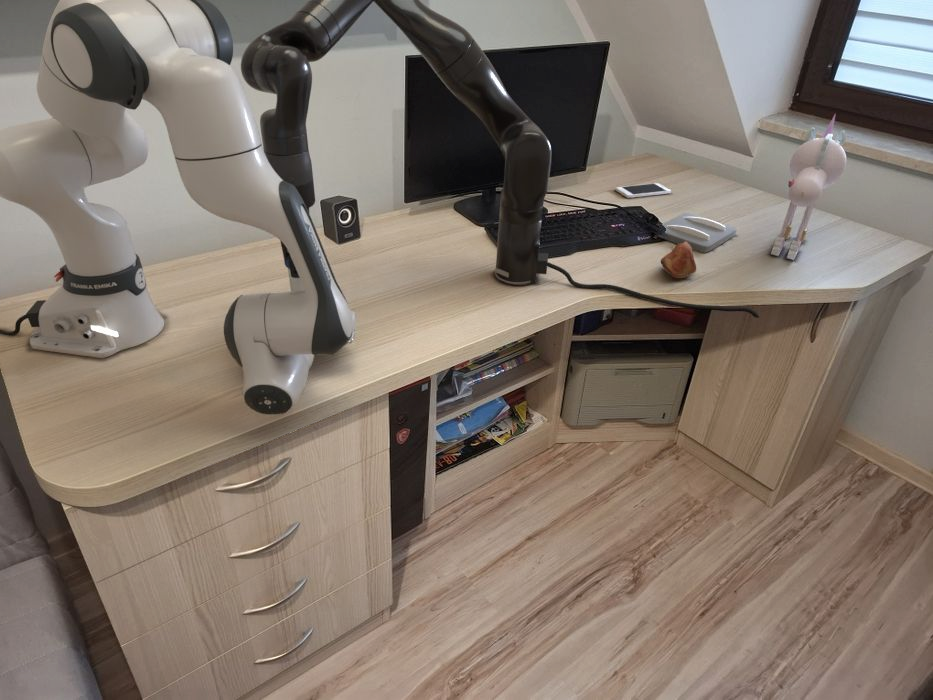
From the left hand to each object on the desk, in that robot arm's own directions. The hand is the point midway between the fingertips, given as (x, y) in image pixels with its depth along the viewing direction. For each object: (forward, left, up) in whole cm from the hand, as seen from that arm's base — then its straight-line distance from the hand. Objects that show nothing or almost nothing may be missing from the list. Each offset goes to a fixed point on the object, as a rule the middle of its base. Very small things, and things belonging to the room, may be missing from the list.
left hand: (306, 303), depth 119 cm
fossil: (+80, +28, -6) cm, 85 cm away
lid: (0, -1, +10) cm, 10 cm away
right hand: (0, -1, +8) cm, 8 cm away
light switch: (+91, +51, -6) cm, 105 cm away
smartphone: (+85, +83, -6) cm, 119 cm away
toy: (+117, +50, -6) cm, 127 cm away
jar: (0, -1, -6) cm, 6 cm away
